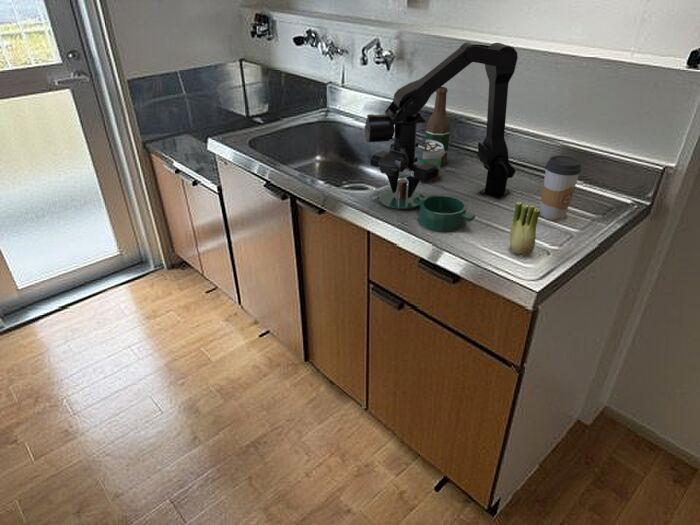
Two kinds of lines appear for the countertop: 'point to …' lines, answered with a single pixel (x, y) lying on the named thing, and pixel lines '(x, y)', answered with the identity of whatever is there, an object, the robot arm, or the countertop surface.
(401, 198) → the lid
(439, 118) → the beer bottle
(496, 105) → the robot arm
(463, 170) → the countertop surface
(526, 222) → the fennel bulb
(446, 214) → the pot
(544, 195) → the coffee cup
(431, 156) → the green food package
